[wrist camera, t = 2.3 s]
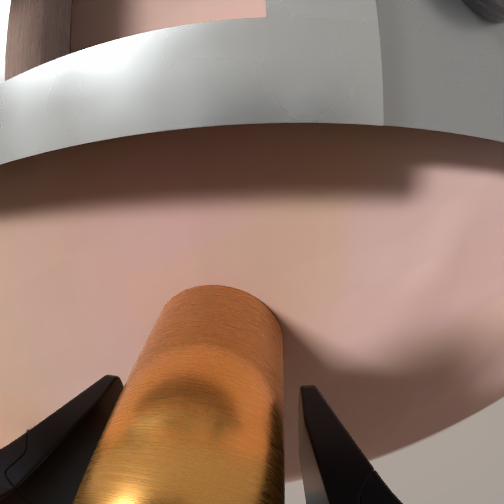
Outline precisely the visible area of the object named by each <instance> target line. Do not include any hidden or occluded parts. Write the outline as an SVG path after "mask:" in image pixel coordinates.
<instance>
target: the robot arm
mask: <svg viewBox="0 0 504 504" xmlns="http://www.w3.org/2000/svg"><path fill="white" fill-rule="evenodd" d="M123 388H124V387H123V384H122V382H121V379H120V378H119V377H118V376H113V375H106V376H104V377H103V378H101V379H100V380H98V381H97V382H96V383H94V384H93V385H92V386H90V387H89V388H87V389H86V390H85V391H83V392H82V393H81V394H79V395H78V396H76V397H75V398H74V399H72V400H71V401H69V402H68V403H67V404H65V405H64V406H63V407H61V408H60V409H58V410H57V411H56V412H54V413H53V414H51V415H50V416H49V417H47V418H46V419H44V420H43V421H42V422H40V423H39V424H37V425H36V426H35V427H33V428H32V429H30V430H27V431H26V433H25V434H23V435H22V436H20V437H19V438H17V439H16V440H15V441H13V442H12V443H10V444H9V445H7V446H5V447H3V448H2V449H0V504H73V501H74V499H75V496H76V494H77V491H78V489H79V486H80V484H81V482H82V479H83V477H84V474H85V472H86V470H87V467H88V465H89V463H90V460H91V458H92V456H93V453H94V451H95V449H96V447H97V444H98V442H99V440H100V438H101V435H102V433H103V431H104V429H105V427H106V424H107V422H108V420H109V418H110V416H111V413H112V411H113V409H114V407H115V405H116V403H117V401H118V398H119V396H120V394H121V392H122V390H123ZM298 413H299V456H300V464H301V471H302V477H303V484H304V491H305V497H306V504H403V503H401V501H400V500H399V499H398V498H397V497H396V496H395V495H394V494H393V493H392V491H391V490H390V489H389V488H388V486H387V485H386V484H385V483H384V481H383V480H382V479H381V477H380V476H379V475H378V473H377V472H376V471H373V470H374V468H373V467H372V465H371V464H370V462H369V461H368V460H367V458H366V457H365V455H364V454H363V453H362V451H361V450H360V448H359V447H358V446H357V444H356V443H355V441H354V440H353V439H352V437H351V436H350V434H349V433H348V432H347V430H346V429H345V427H344V426H343V425H342V423H341V422H340V420H339V419H338V418H337V416H336V415H335V413H334V412H333V410H332V409H331V408H330V406H329V405H328V403H327V402H326V400H325V399H324V398H323V396H322V395H321V393H320V392H319V390H318V389H317V388H316V386H314V385H307V386H301V387H300V393H299V407H298Z"/></svg>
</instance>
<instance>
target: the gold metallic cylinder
mask: <svg viewBox="0 0 504 504" xmlns="http://www.w3.org/2000/svg"><path fill="white" fill-rule="evenodd" d="M73 504H285V434H284V373H283V339H282V331H281V327H280V325H279V323H278V320H277V319H276V317H275V315H274V314H273V313H272V312H271V310H270V309H269V308H268V307H267V306H266V305H265V304H264V303H263V302H261V301H260V300H258V299H257V298H255V297H254V296H252V295H250V294H248V293H246V292H244V291H241V290H238V289H235V288H231V287H226V286H219V285H205V286H198V287H194V288H190V289H187V290H185V291H183V292H181V293H179V294H177V295H176V296H174V297H173V298H172V299H171V300H170V301H169V302H168V303H167V304H166V305H165V307H164V308H163V310H162V312H161V314H160V316H159V318H158V320H157V322H156V324H155V325H154V327H153V329H152V331H151V333H150V335H149V337H148V339H147V341H146V343H145V345H144V347H143V349H142V351H141V353H140V355H139V357H138V359H137V361H136V363H135V365H134V367H133V369H132V371H131V373H130V375H129V378H128V380H127V382H126V384H125V386H124V388H123V390H122V392H121V394H120V396H119V398H118V401H117V403H116V405H115V407H114V409H113V411H112V413H111V416H110V418H109V420H108V422H107V424H106V427H105V429H104V431H103V433H102V435H101V438H100V440H99V442H98V444H97V447H96V449H95V451H94V453H93V456H92V458H91V460H90V463H89V465H88V467H87V470H86V472H85V474H84V477H83V479H82V482H81V484H80V486H79V489H78V491H77V494H76V496H75V499H74V501H73Z"/></svg>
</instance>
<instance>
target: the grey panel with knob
mask: <svg viewBox="0 0 504 504" xmlns="http://www.w3.org/2000/svg"><path fill="white" fill-rule="evenodd" d="M71 8H72V0H0V164H4V163H7V162H10V161H14V160H17V159H21V158H25V157H29V156H32V155H36V154H40V153H44V152H48V151H53V150H57V149H61V148H66V147H70V146H75V145H80V144H85V143H90V142H95V141H101V140H106V139H112V138H118V137H124V136H130V135H137V134H144V133H151V132H159V131H167V130H176V129H185V128H195V127H207V126H220V125H235V124H256V123H344V124H364V125H379V126H384V125H387V126H398V127H409V128H418V129H426V130H434V131H442V132H449V133H456V134H462V135H468V136H474V137H480V138H485V139H490V140H495V141H500V142H504V0H266V10H267V17H265V18H245V19H231V20H221V21H211V22H203V23H196V24H189V25H182V26H176V27H171V28H165V29H160V30H155V31H150V32H145V33H141V34H137V35H132V36H128V37H124V38H120V39H117V40H113V41H109V42H106V43H102V44H99V45H96V46H93V47H89V48H86V49H83V50H80V51H77V52H74V53H71V54H70V25H71Z"/></svg>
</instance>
